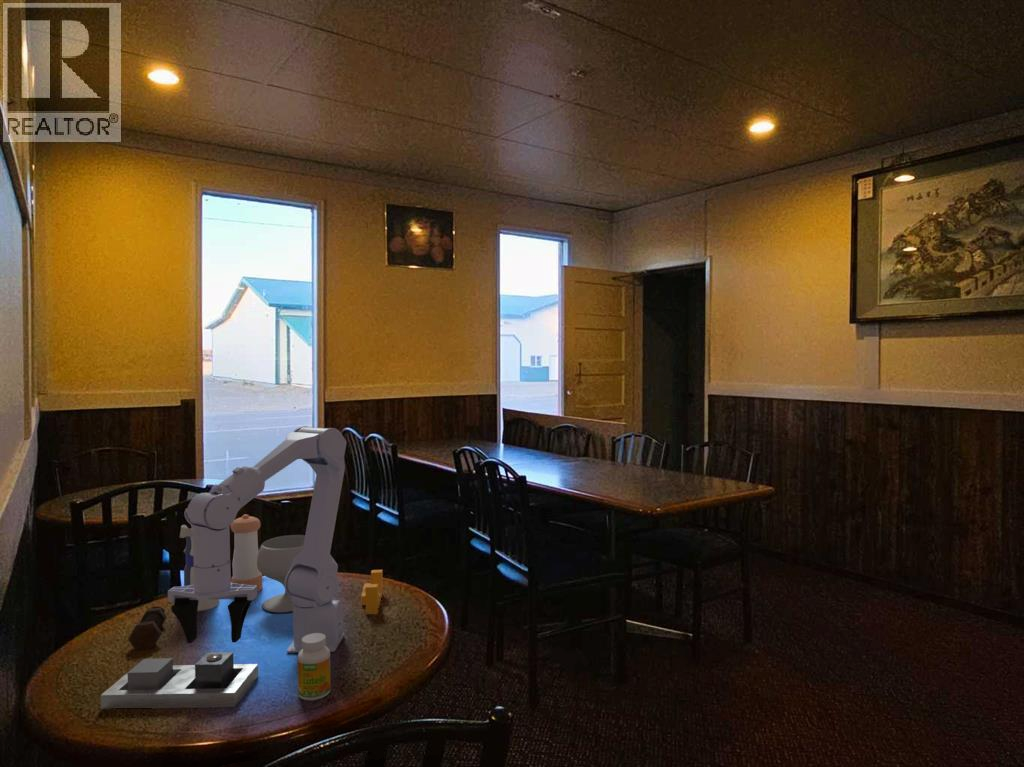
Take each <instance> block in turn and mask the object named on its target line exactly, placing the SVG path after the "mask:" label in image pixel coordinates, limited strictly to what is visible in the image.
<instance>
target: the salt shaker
mask: <svg viewBox="0 0 1024 767" xmlns="http://www.w3.org/2000/svg"><path fill="white" fill-rule="evenodd" d="M261 526H262V524H261V521H260V519H259V518H258V517H255V516H250V515H249V514H247V513H246V514H243V515H242V516H241V517H238V518H235V520H234V521H233V523H232V524H231V525H230V530H231V532H233V533H234V534H233V535H234V536H233V537H234V540H233V542H234V544H233V545H234V549H233V556H232V557H233V558H232V561H231V562H232V563H231V565H232V567H231V568H232V575H231V583H236V584H243V585H257V593H258V592H260V591H261V590H262V589H263V575H262V574H261V572H260V571H259V570H258V568H257V557H258V552H259V544H258V543H259V542H258V541H259V539H258V538H259V537H258V536H259V535H258V530H259V529H260V528H261Z"/></svg>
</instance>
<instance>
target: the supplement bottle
mask: <svg viewBox="0 0 1024 767" xmlns="http://www.w3.org/2000/svg"><path fill="white" fill-rule="evenodd" d="M325 645H326V636H325V635H324V634H321V633H313V634H308V635H306V636H304V637H303V638H302V650H301V651H300V652H299V653H298V654H297V695H298V697H299V698H300V699H302V700H303V701H316V700H317V701H319V700H320V699H323V698H325V697H327V696H328V695H329V694H330V692H331V690H332V688H331V686H332V685H331V684H332V683H331V678H332V677H331V652H330V650H329V648H328V647H326V646H325Z"/></svg>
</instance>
